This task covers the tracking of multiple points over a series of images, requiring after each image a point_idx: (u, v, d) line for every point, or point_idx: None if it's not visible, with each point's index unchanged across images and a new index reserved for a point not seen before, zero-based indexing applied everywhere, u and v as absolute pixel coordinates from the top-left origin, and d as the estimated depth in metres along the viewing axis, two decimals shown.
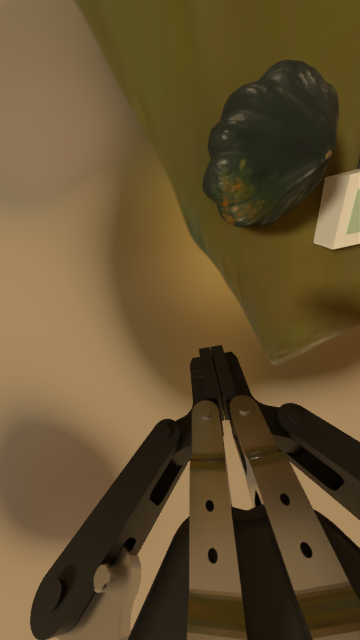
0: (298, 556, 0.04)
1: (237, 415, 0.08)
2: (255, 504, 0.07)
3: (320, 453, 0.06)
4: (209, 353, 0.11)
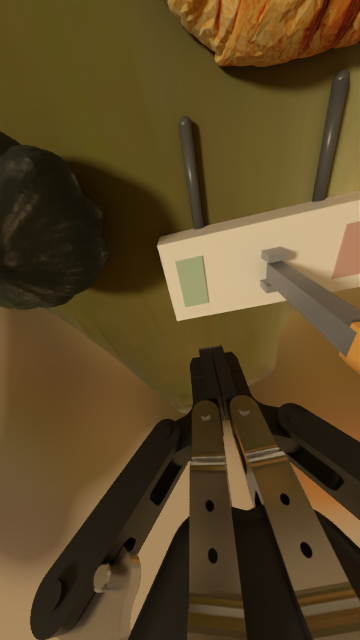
0: (298, 556, 0.04)
1: (237, 415, 0.08)
2: (255, 504, 0.07)
3: (320, 453, 0.06)
4: (209, 353, 0.11)
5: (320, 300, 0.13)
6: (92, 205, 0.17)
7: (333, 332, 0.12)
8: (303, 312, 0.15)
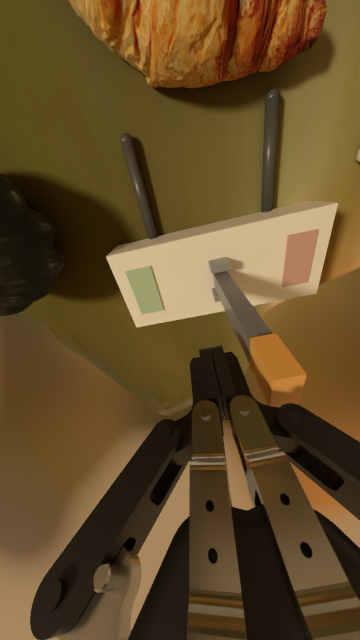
0: (298, 556, 0.04)
1: (237, 415, 0.08)
2: (255, 504, 0.07)
3: (320, 453, 0.06)
4: (209, 353, 0.11)
5: (239, 313, 0.14)
6: (35, 219, 0.18)
7: (244, 345, 0.13)
8: (232, 323, 0.15)
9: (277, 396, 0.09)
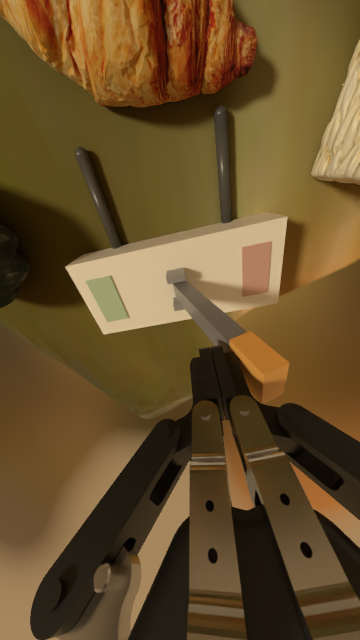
0: (298, 556, 0.04)
1: (237, 415, 0.08)
2: (255, 504, 0.07)
3: (320, 453, 0.06)
4: (209, 353, 0.11)
5: (210, 318, 0.14)
6: None
7: (223, 347, 0.13)
8: (203, 329, 0.16)
9: (267, 389, 0.10)
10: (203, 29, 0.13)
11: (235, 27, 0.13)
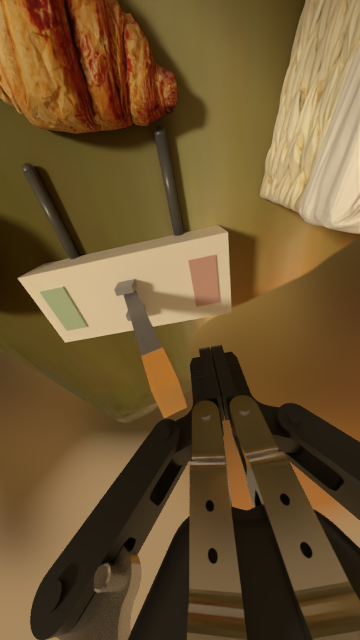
0: (298, 556, 0.04)
1: (237, 415, 0.08)
2: (255, 504, 0.07)
3: (320, 453, 0.06)
4: (209, 353, 0.11)
5: (138, 332, 0.15)
6: None
7: None
8: None
9: (164, 405, 0.10)
10: (121, 72, 0.14)
11: (154, 72, 0.14)
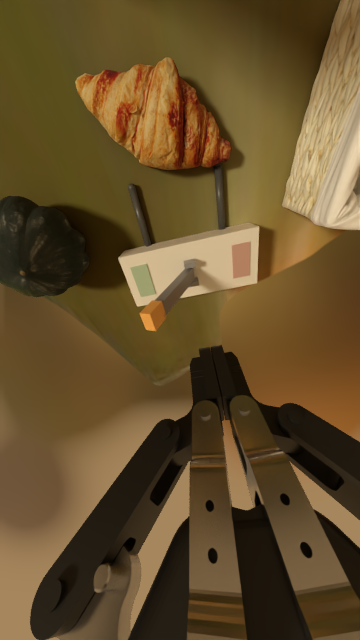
0: (298, 556, 0.04)
1: (237, 415, 0.08)
2: (255, 504, 0.07)
3: (320, 453, 0.06)
4: (209, 353, 0.11)
5: (165, 291, 0.27)
6: (77, 235, 0.29)
7: None
8: None
9: (145, 322, 0.23)
10: (203, 142, 0.25)
11: (220, 142, 0.25)
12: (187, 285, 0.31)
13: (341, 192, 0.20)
